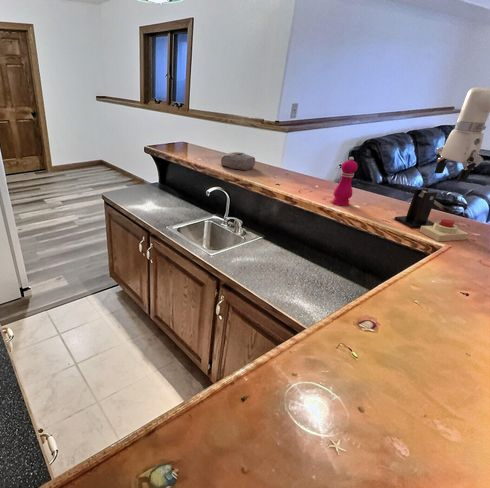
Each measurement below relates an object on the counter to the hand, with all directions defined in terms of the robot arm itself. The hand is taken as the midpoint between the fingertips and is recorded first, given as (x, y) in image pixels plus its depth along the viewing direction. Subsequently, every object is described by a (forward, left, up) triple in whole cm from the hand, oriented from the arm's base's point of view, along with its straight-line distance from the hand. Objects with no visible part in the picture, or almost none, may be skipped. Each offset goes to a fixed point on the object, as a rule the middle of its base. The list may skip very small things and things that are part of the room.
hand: (449, 176), depth 126 cm
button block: (+7, +12, -17) cm, 22 cm away
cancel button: (+7, +12, -14) cm, 20 cm away
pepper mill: (+23, -23, -18) cm, 37 cm away
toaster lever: (+4, +1, -10) cm, 11 cm away
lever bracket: (+8, +1, -17) cm, 19 cm away
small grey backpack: (+47, -90, -18) cm, 103 cm away
